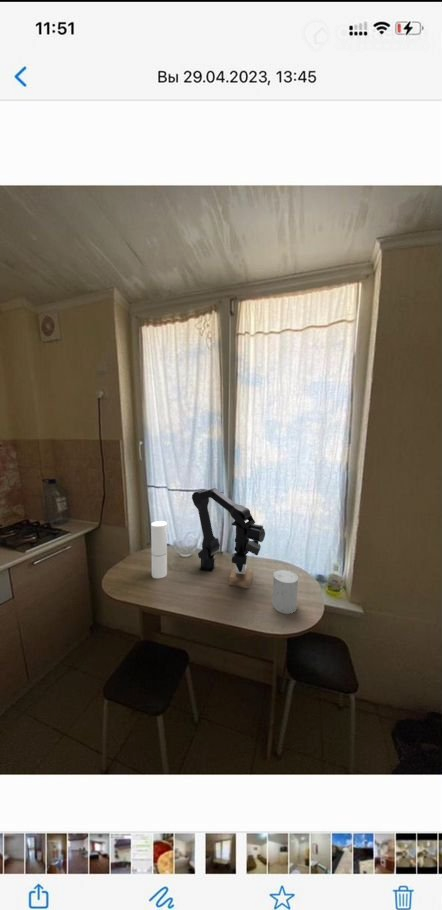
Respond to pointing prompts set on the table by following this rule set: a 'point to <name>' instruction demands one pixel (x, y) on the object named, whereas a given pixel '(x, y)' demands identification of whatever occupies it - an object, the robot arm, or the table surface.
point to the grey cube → (242, 569)
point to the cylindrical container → (159, 549)
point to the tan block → (241, 578)
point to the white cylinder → (285, 591)
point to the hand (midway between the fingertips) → (241, 568)
